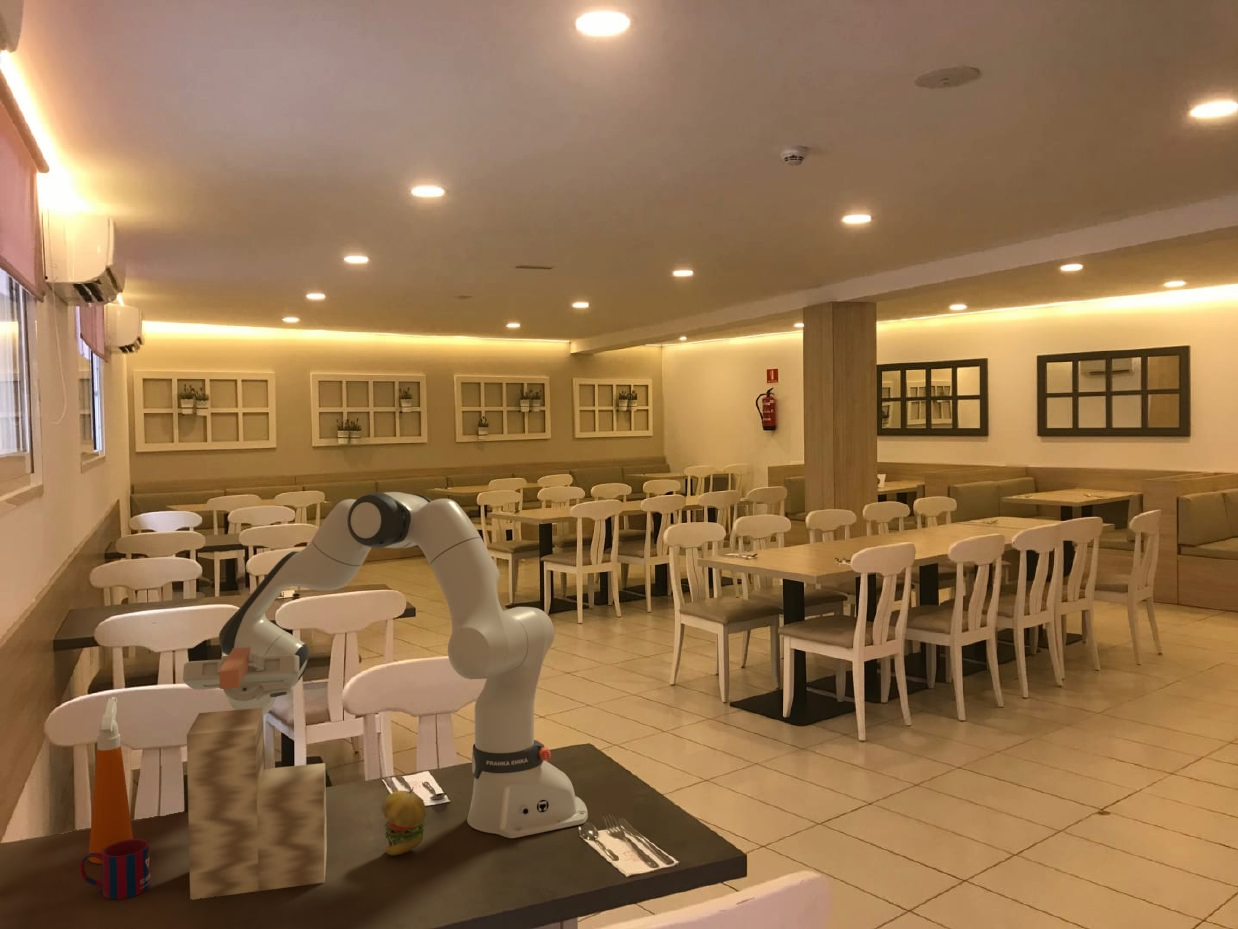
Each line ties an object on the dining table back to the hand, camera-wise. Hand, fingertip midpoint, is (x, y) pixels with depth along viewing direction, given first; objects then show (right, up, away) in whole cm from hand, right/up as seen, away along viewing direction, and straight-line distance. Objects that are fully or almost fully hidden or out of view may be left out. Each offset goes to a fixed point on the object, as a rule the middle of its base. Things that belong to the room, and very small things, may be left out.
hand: (238, 659), depth 170 cm
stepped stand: (+10, -32, -15) cm, 37 cm away
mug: (-12, -33, -20) cm, 40 cm away
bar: (+1, -2, -4) cm, 5 cm away
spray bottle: (-20, -33, -6) cm, 38 cm away
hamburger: (+32, -32, -8) cm, 46 cm away
